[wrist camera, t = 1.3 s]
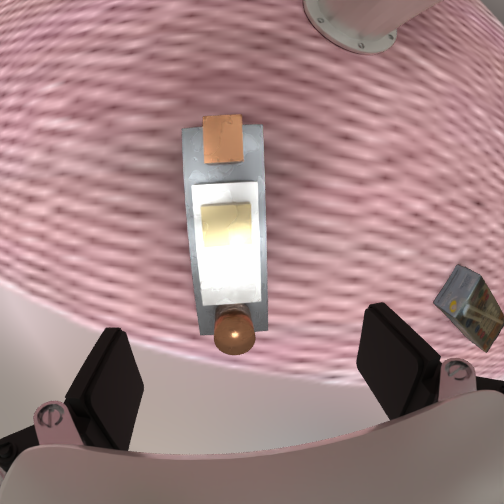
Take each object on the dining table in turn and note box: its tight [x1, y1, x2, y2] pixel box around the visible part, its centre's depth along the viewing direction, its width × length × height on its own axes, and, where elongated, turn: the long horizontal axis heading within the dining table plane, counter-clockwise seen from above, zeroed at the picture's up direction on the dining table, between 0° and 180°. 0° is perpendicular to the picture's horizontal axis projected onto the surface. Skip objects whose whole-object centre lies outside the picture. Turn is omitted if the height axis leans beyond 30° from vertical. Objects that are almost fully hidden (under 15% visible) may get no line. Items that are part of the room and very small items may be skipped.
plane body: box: [182, 114, 268, 355], centre depth 24 cm, size 20×7×12 cm, turn 2°
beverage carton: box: [433, 265, 504, 353], centre depth 34 cm, size 8×19×7 cm, turn 55°
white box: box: [192, 181, 261, 306], centre depth 23 cm, size 10×5×4 cm, turn 2°
